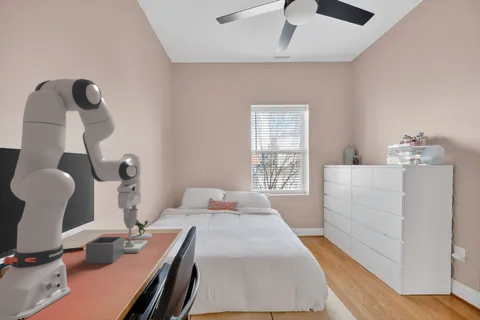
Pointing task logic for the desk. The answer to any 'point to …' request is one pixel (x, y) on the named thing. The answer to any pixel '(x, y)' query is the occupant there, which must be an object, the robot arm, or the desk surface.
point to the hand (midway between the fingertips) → (130, 215)
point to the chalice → (130, 225)
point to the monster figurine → (140, 235)
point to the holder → (104, 250)
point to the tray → (138, 247)
